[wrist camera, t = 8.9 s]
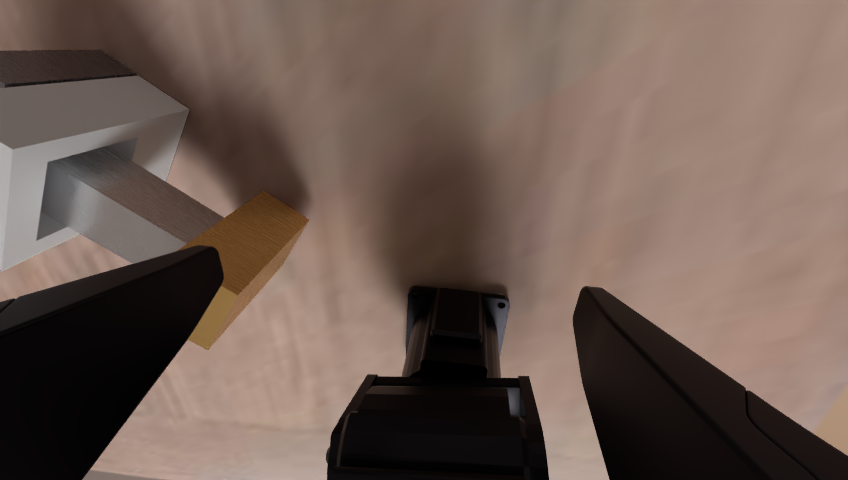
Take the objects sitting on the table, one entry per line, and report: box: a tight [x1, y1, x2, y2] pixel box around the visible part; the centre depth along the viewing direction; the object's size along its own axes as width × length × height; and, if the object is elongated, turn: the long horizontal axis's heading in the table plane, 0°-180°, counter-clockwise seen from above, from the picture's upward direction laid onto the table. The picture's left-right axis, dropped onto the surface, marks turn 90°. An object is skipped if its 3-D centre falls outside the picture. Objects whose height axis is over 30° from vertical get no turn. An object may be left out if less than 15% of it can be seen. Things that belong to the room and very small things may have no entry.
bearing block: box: [0, 76, 190, 272], centre depth 18 cm, size 3×6×9 cm, turn 145°
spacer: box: [0, 50, 136, 88], centre depth 19 cm, size 2×6×6 cm, turn 145°
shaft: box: [41, 146, 309, 350], centre depth 18 cm, size 11×4×8 cm, turn 55°
